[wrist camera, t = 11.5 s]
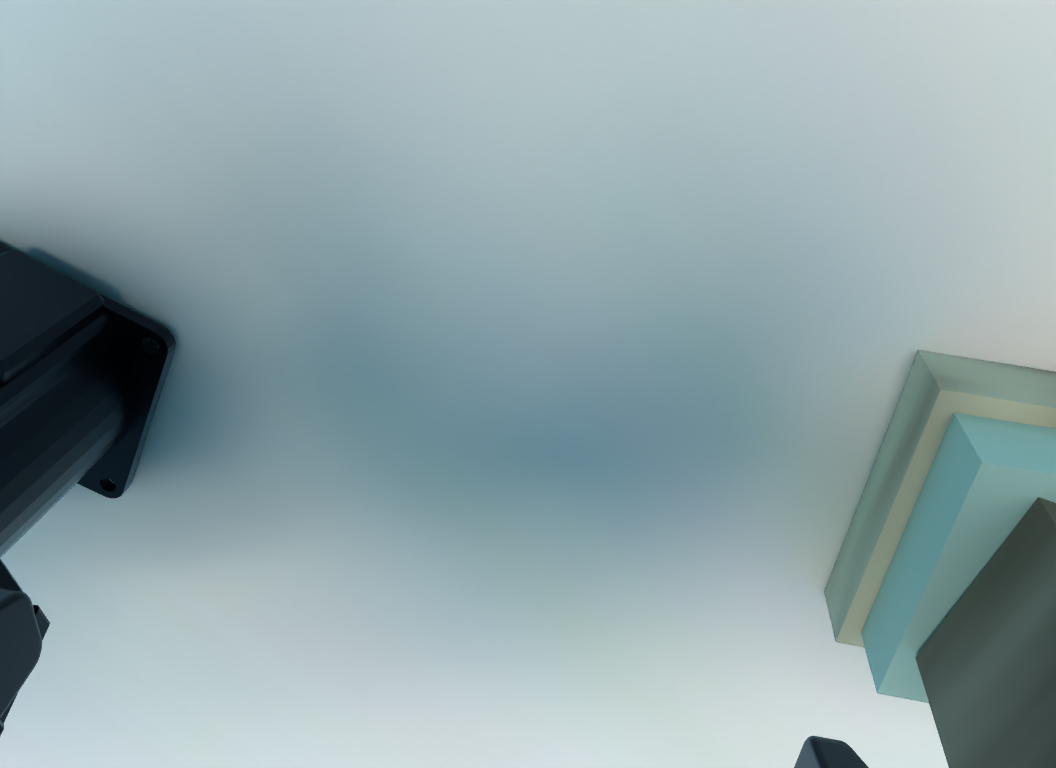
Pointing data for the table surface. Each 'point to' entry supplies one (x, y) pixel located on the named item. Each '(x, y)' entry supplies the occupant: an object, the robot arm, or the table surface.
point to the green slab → (954, 537)
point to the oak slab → (922, 465)
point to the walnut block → (1000, 656)
